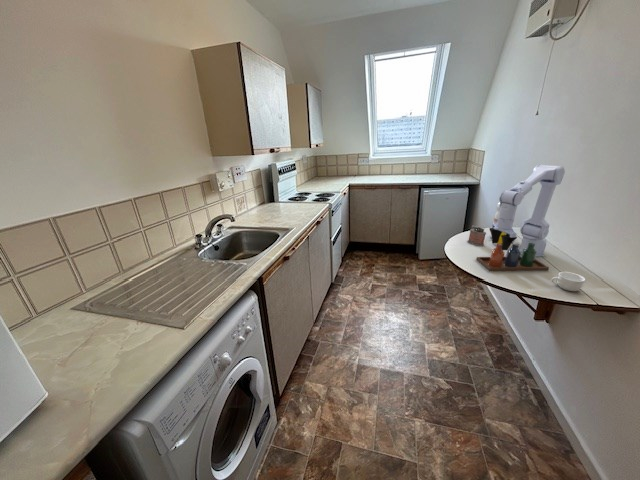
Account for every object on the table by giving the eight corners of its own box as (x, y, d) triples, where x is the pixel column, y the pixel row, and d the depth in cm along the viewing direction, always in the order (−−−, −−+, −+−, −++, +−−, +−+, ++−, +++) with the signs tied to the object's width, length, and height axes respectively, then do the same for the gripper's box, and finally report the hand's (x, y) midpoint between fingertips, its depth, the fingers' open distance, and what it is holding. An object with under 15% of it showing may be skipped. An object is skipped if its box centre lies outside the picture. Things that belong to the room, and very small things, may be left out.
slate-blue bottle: (512, 262, 126) (517, 242, 122) (519, 267, 122) (525, 246, 118) (501, 262, 126) (506, 242, 122) (508, 267, 122) (513, 246, 118)
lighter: (484, 244, 147) (488, 227, 144) (482, 246, 145) (485, 229, 142) (469, 240, 153) (472, 224, 149) (466, 242, 151) (469, 225, 147)
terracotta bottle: (497, 262, 127) (502, 242, 123) (503, 267, 122) (508, 246, 118) (486, 262, 127) (491, 242, 123) (492, 267, 122) (497, 246, 118)
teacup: (573, 284, 108) (578, 272, 106) (585, 294, 101) (590, 282, 99) (544, 281, 111) (548, 270, 109) (554, 291, 104) (558, 279, 102)
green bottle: (527, 262, 126) (533, 241, 122) (535, 267, 121) (541, 246, 117) (516, 262, 126) (522, 241, 122) (523, 267, 121) (529, 246, 118)
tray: (529, 259, 129) (530, 256, 128) (547, 271, 118) (549, 267, 117) (475, 260, 130) (476, 257, 129) (488, 272, 120) (489, 268, 119)
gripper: (487, 213, 123) (482, 240, 128) (506, 223, 110) (499, 253, 115) (503, 213, 123) (497, 240, 128) (524, 223, 110) (516, 252, 115)
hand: (499, 246), depth 122 cm, fingers open, 7 cm apart
